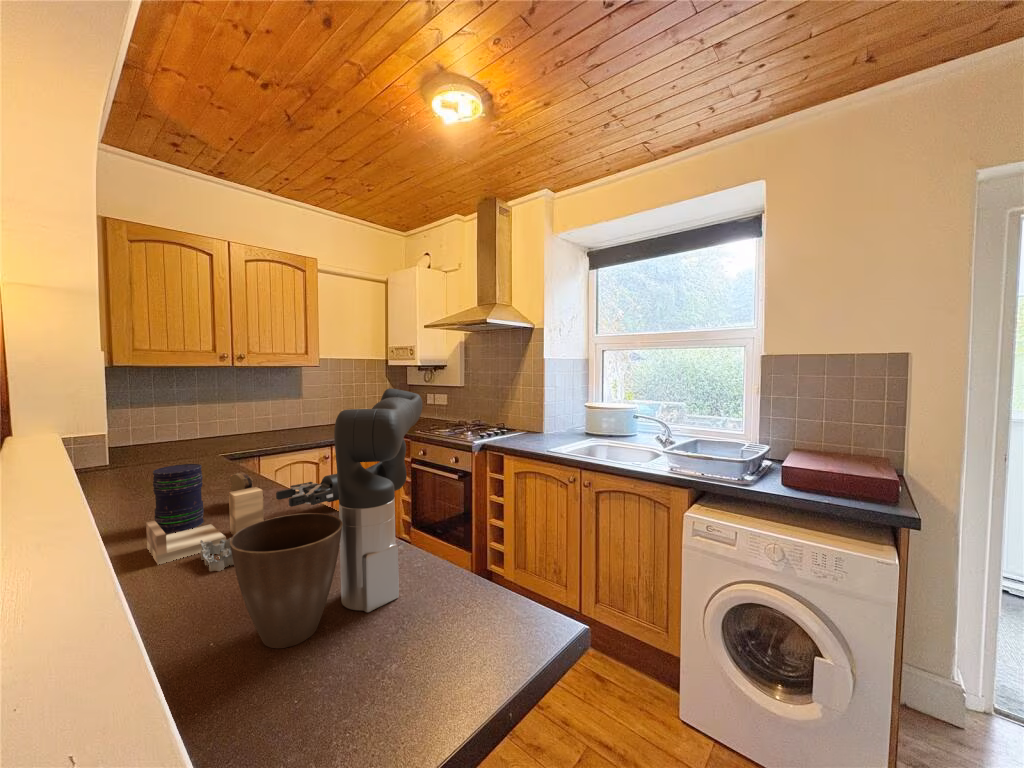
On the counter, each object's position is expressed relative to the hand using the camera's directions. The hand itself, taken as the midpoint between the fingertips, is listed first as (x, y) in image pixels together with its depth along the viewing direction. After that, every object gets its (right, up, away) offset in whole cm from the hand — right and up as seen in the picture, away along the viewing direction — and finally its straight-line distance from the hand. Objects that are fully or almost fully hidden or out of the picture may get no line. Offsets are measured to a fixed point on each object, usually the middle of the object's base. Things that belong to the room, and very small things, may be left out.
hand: (282, 499), depth 109 cm
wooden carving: (-18, -6, +12) cm, 22 cm away
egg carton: (0, -7, -21) cm, 22 cm away
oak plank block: (-6, -6, -6) cm, 10 cm away
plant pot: (+27, -8, -45) cm, 53 cm away
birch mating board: (-13, -7, -15) cm, 21 cm away
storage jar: (-25, -6, -3) cm, 26 cm away
